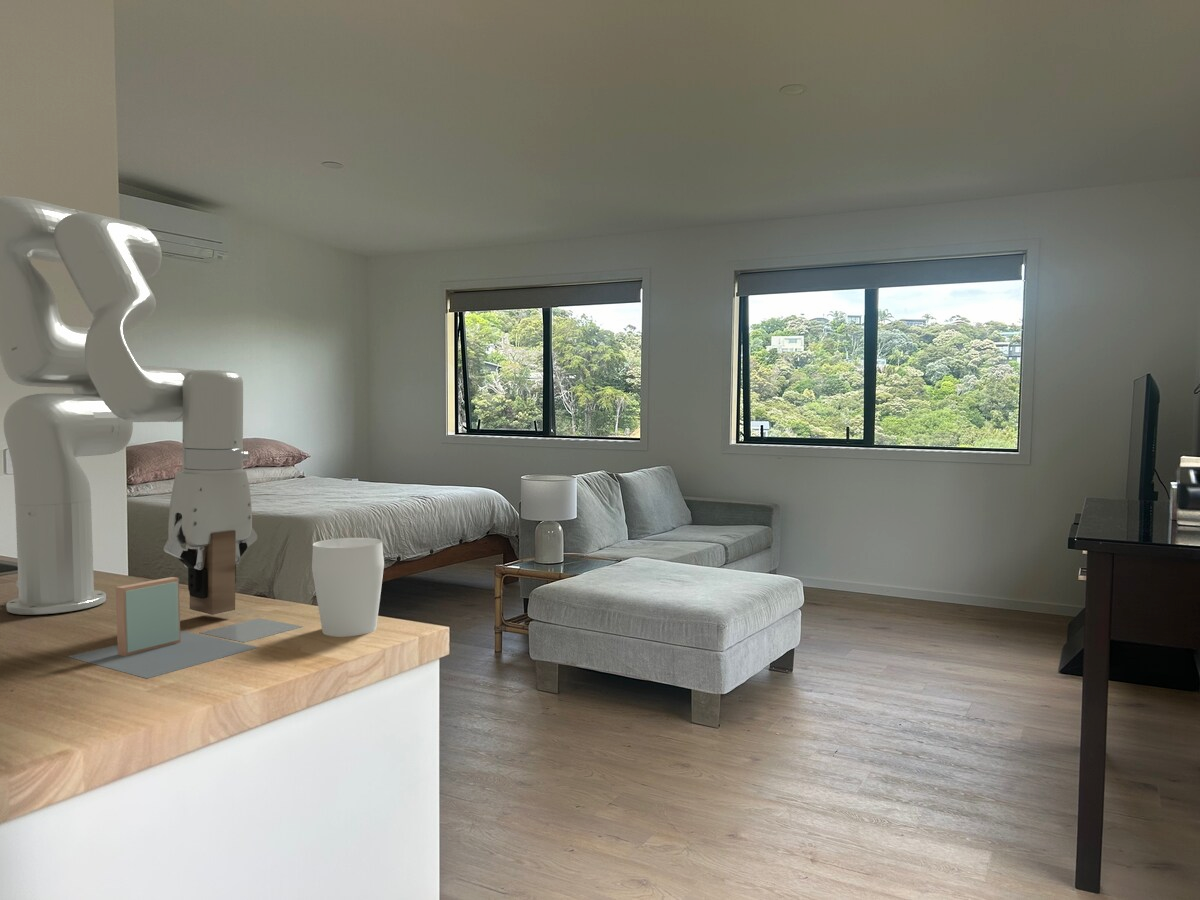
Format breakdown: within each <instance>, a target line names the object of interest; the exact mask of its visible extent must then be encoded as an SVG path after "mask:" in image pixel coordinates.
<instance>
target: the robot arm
mask: <svg viewBox="0 0 1200 900" xmlns="http://www.w3.org/2000/svg"><path fill="white" fill-rule="evenodd" d="M162 258H163V254H162V248H161V245H160V243H159V240H158V239H157V237H156V235H155V234H153V232H152V231H151V230H150V229H148V228H147V227H146V226H144V225H143V224H139V223H136V222H132V221H129V220H125V219H121V218H117V217H113V216H112V217H111V216H106V215H103V214H98V213H94V212H93V213H91V212H89V211H83V210H79V209H75V208H70V207H66V206H62V205H57V204H53V203H50V202H45V201H42V200H41V201H40V200H38V199H37V200H36V199H32V198H28V197H27V198H26V197H23V196H22V197H21V196H13V195H12V196H11V195H0V359H1V363H2V368H3V370H4V372H5V374H6V375H7V377H8V379H10V380H11V381H13V383H16V384H18V385H21V386H26V387H40V388H63V389H64V388H67V389H71V388H72V389H71V390H72V391H73V393H52V392H51V393H47V392H46V393H45V392H44V393H35V394H29V395H26V396H23V397H20V398H18V399H17V400H15V401H14V402H12V404H10V406H9V407H8V408H7V410H6V412H5V414H4V417H3V432H4V437H5V441H6V444H7V448H8V451H9V457H10V461H11V466H12V473H13V474H12V475H13V482H14V483H13V484H14V501H15V502H14V504H15V505H14V506H15V526H16V528H15V531H16V552H17V553H16V556H17V558H16V559H17V576H18V577H17V580H16V581H15V586H16V587H18V597H15V598H13V599H10V600H9V601H7V602H6V606H5V607H6V612H8V613H10V614H15V615H24V616H25V615H29V616H31V615H32V616H33V615H36V616H37V615H38V616H39V615H49V614H50V615H51V614H61V613H69V612H74V611H81V610H86V609H89V608H94V607H96V606H99V605H101V604H104V603H105V602H106V600H107V594H106V592H105V591H103V590H96V589H95V585H94V583H95V582H94V581H95V580H94V550H93V549H94V548H93V524H92V523H93V522H92V521H93V520H92V515H93V514H92V500H91V499H92V497H91V496H92V494H91V485H90V482H89V479H88V476H87V475H86V473H85V471H84V470H83V468H82V466H81V465H80V464H79V462H78V460H77V459H76V458H77V457H92V456H105V455H111V454H116V453H118V452H120V451H122V450H124V449H125V448H126V447H127V445H128V444H129V443H130V442H131V438H132V435H133V431H134V430H133V429H134V424H133V423H157V422H159V423H161V422H162V423H164V422H165V423H174V422H175V423H176V422H177V423H178V422H179V423H180V422H181V423H182V468H181V469H182V471H176V473H175V477H174V480H173V485H172V488H171V489H172V491H171V494H170V503H169V513H168V530H167V532H168V538H167V540H166V542H165V544H164V546H163V551H164V552H165V553H167V554H169V555H170V556H173V557H175V558H177V559H178V560H179V561H180V562H181V563H182V564H183V566H184V567H185V568H187V575H188V576H187V589H188V592H189V597H190V596H192V597H197V598H201V599H204V598H207V596H208V571H207V569H204V563H205V555H206V548H207V546H208V545H210V541H211V533H219V532H227V531H234V530H235V531H236V551H235V585H236V583H237V564H239V563H240V562H241V557H242V556H243V554H244V553H245V552H246V550H247V549H248V548H249V547H250V546H251V545H253V544H254V543H256V541H257V540H258V536H259V535H257V532H256V530H255V529H254V527H253V516H252V514H253V513H252V512H253V511H252V510H253V509H252V498H251V496H252V495H251V489H250V488H251V487H250V483H249V476H248V473H247V470H245V469H244V468H243V466H244V461H245V462H246V461H249V457H250V454H249V452H248V451H247V450H246V451H244V448H243V446H244V445H243V444H244V439H243V437H244V381H243V377H242V376H241V375H240V374H239V373H237V372H235V371H230V370H218V369H217V370H216V369H214V370H213V369H211V370H210V369H192V368H185V367H183V368H182V367H170V366H169V367H167V366H154V365H153V366H151V365H139V364H138V362H137V361H136V360H135V358H134V356H133V354H132V353H131V350H130V347H129V346H128V345H127V341H126V339H125V335H124V332H126V331H128V330H131V329H132V328H135V327H137V326H139V325H141V324H142V323H144V322H145V321H146V320H148V319H149V318H150V317H151V316H152V315H153V313H154V311H155V310H156V306H157V300H156V298H155V294H154V293H153V291H152V289H151V288H150V286H149V284H148V283H147V280H148V279H150V278H152V277H154V276H155V275H156V274H157V272H158V271H159V270H160V268H161V264H162ZM32 259H35V260H40V261H46V262H51V263H57V264H63V265H64V266H65V268H66V270H67V272H68V274H69V277H70V279H71V280H72V281H73V284H74V285H75V288H76V290H77V291H78V293H79V295H80V297H81V299H82V301H83V303H84V304H85V307H86V308H87V311H88V313H89V314H90V317H91V318H92V321H91V323H90V325H89V327H83V326H74V325H68V324H66V323H65V322H64V321H63V320H62V318H61V314H60V311H59V307H58V302H57V297H56V294H55V292H54V290H53V288H52V287H51V285H50V284H49V282H48V280H47V279H46V278H45V276H44V275H43V274H42V273H41V272H40V271H39V270H38V269H37V268H36V267H35V266H34V265H33V264H32ZM184 544H185V548H183V547H182V545H184Z"/></svg>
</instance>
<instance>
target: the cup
mask: <svg viewBox="0 0 1200 900" xmlns="http://www.w3.org/2000/svg"><path fill="white" fill-rule="evenodd" d="M383 545H384V544H383V540H382V539H380V538H374V537H339V538H338V537H337V538H330V539H324V540H319V541H316V542H313V543H312V554H311V555H312V557H311V571H312V578H313V584H314V590H315V596H316V602H317V607H318V615H319V619H320V625H321V631H322V633H323V635H325V636H330V637H338V638H339V637H340V638H343V637H345V638H346V637H357V636H361V635H363V636H364V635H367V634H370V633H372V632H374V631H377V625H378V617H379V609H380V602H381V594H382V593H381V592H382V588H383V587H382V584H383V575H384V569H385V558H384V547H383Z"/></svg>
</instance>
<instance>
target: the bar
mask: <svg viewBox="0 0 1200 900" xmlns="http://www.w3.org/2000/svg"><path fill="white" fill-rule="evenodd" d="M235 551H236V531H235V530H234V531H227V532H219V533H211V541H210V545H208V546H207V548H206V555H205V563H204V569H207V571H208V596H207V598H204V599H201V598H197V597H192V596H190V595H189V610H192V611H195V612H200V613H204V614H207V615H211V616H213V615H217V614H223V613H227V612H228V613H229V612H232V611H235V610H236V584H235Z"/></svg>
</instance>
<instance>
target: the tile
mask: <svg viewBox="0 0 1200 900" xmlns="http://www.w3.org/2000/svg"><path fill="white" fill-rule="evenodd" d="M115 600H116V601H115V602H116V603H115V605H116V609H115V610H116V633H117V634H116V635H117V636H116V637H117V639H116V640H117V645H118V655H122V656H128V655H132V654H136V653H140V652H144V651H148V650H152V649H156V648H160V647H164V646H168V645H172V644H176V643H180V642H181V637H180V630H181V611H180V610H181V609H180V607H181V606H180V578H179V577H176V576H169V577H165V578H158V579H153V580H152V579H151V580H148V581H141V582H136V583H130V584H125V585H119V586H115Z"/></svg>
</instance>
